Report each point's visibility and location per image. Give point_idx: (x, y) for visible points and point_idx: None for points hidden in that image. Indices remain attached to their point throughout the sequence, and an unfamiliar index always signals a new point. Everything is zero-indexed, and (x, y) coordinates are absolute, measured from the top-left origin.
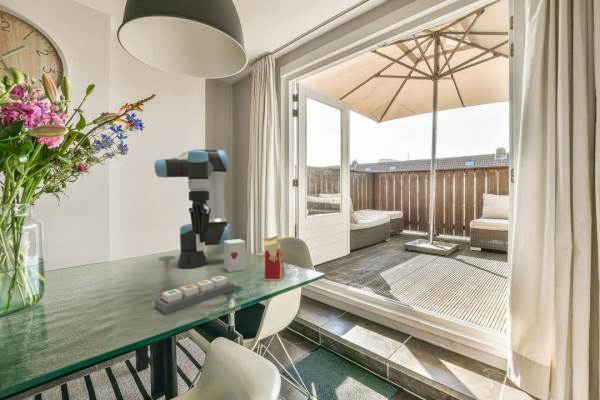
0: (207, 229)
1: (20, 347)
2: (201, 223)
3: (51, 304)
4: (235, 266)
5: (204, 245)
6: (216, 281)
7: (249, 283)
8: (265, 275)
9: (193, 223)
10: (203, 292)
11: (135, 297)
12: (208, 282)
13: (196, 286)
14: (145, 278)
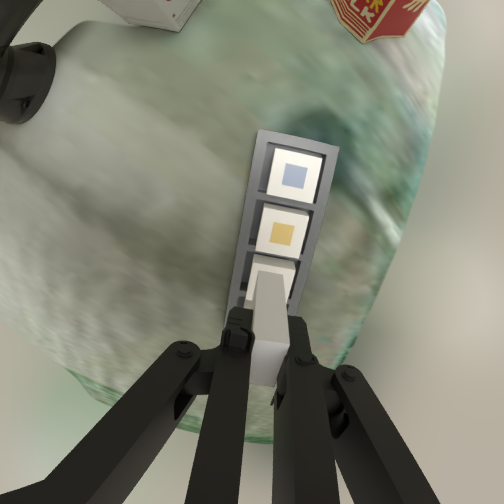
0: (367, 391)
1: (197, 428)
2: (342, 470)
3: (71, 365)
4: (186, 7)
5: (284, 291)
6: (311, 203)
7: (335, 77)
8: (370, 36)
9: (165, 441)
10: (304, 252)
11: (129, 308)
12: (295, 226)
13: (287, 271)
14: (30, 222)
